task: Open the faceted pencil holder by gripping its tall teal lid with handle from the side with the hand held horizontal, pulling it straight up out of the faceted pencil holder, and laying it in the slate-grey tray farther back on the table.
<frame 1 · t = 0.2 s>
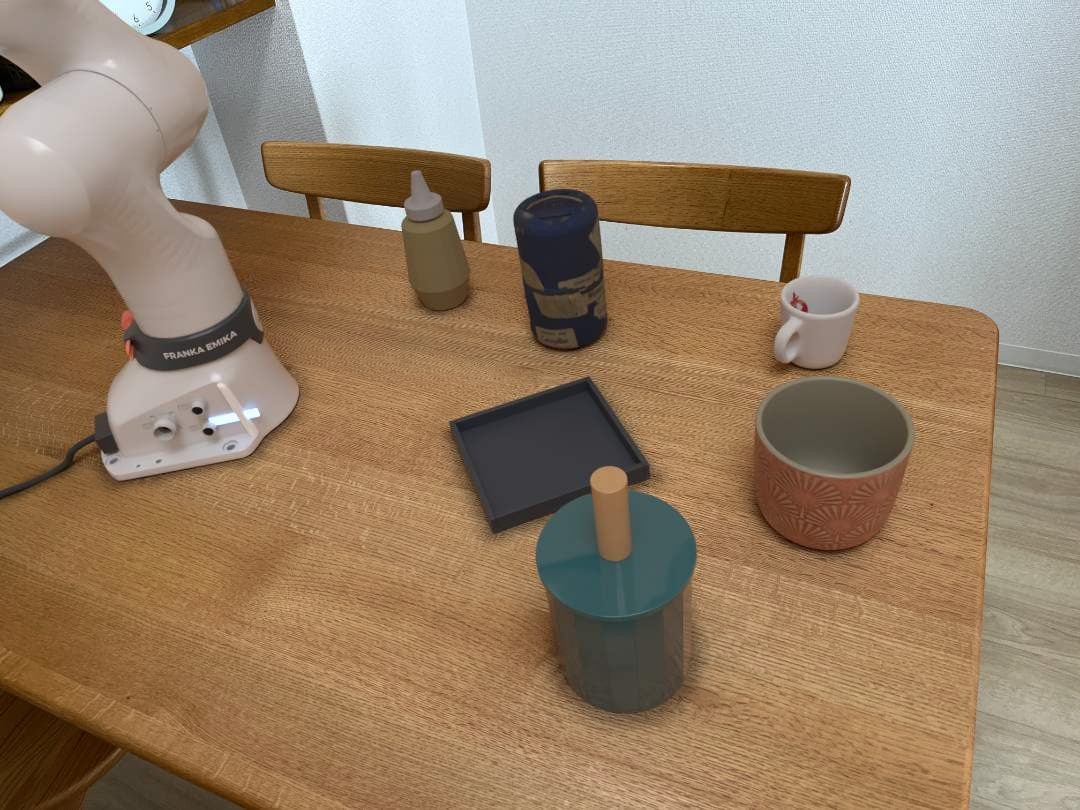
teal lid with handle: (615, 553, 57), point 13 cm above the table, touching faceted pencil holder
tray: (546, 455, 83), on the table
canister: (569, 332, 99), on the table
faceted pencil holder: (624, 652, 65), on the table
planter: (819, 512, 73), on the table
squeeze bottle: (445, 300, 108), on the table
cup: (804, 362, 89), on the table
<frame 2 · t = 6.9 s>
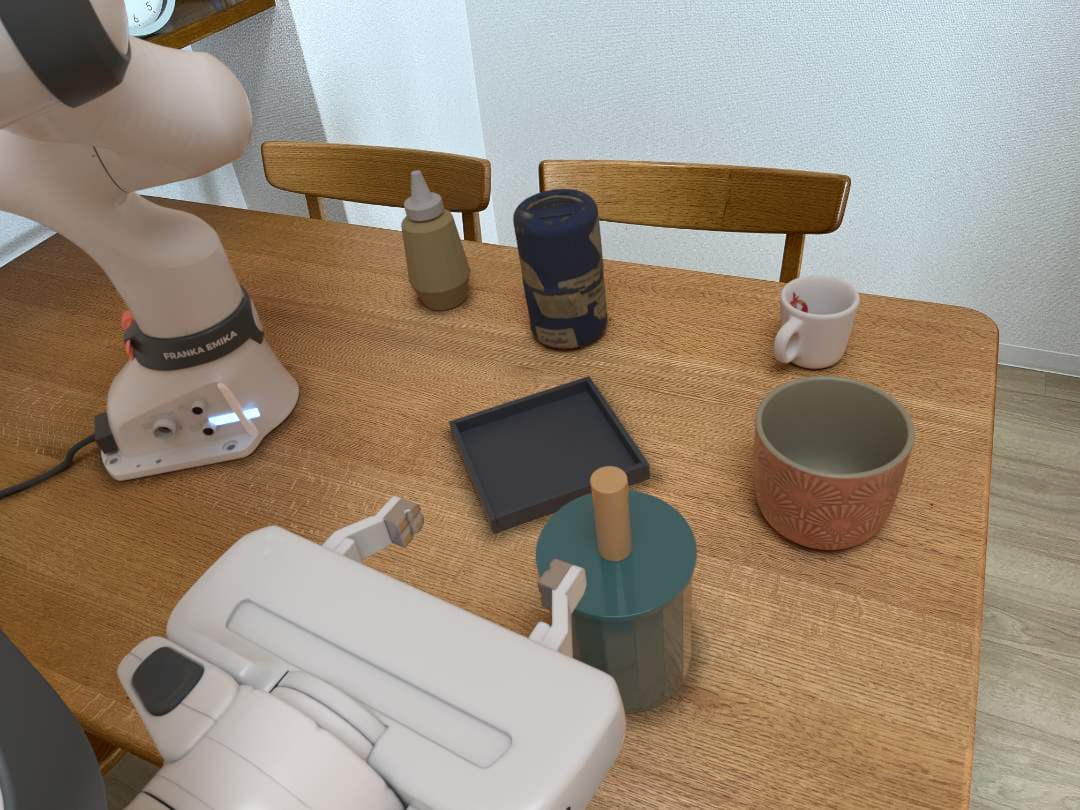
hand: (487, 537, 39), 28 cm above the table, tool horizontal, fingers open, 8 cm apart
nothing on the table moved.
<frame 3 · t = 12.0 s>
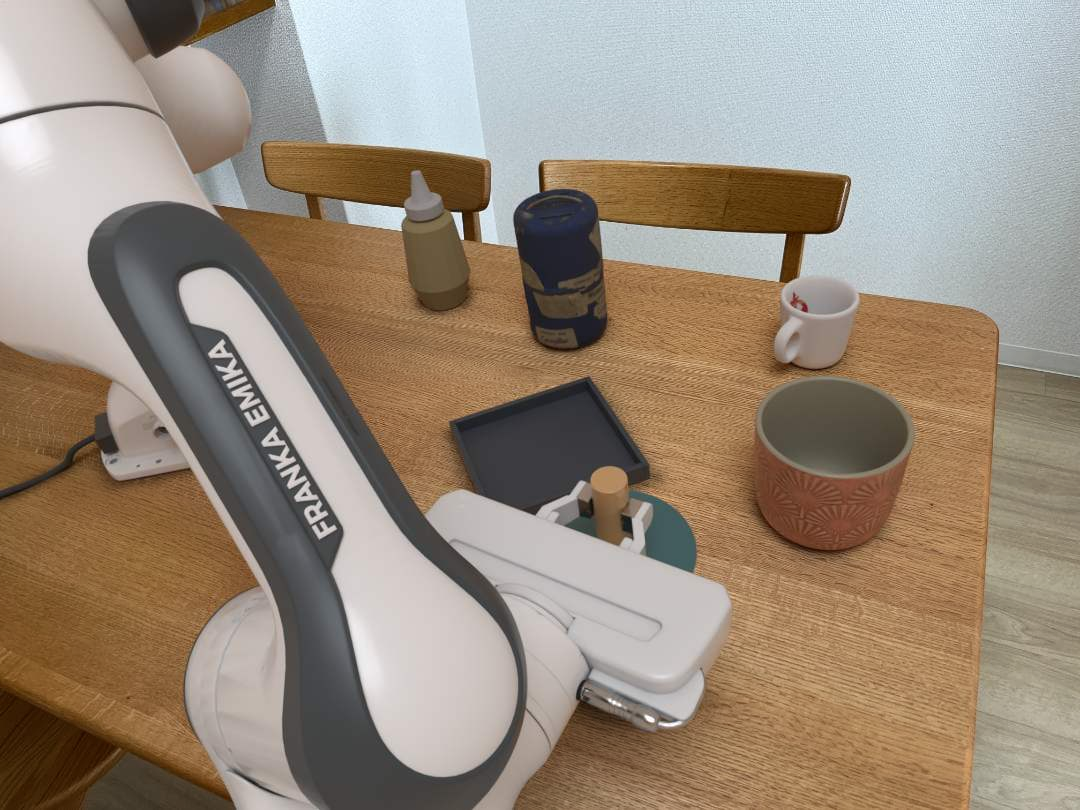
hand: (616, 497, 54), 18 cm above the table, tool horizontal, fingers closed on teal lid with handle, 2 cm apart
teal lid with handle: (615, 553, 57), point 13 cm above the table, touching faceted pencil holder, gripper
everything else where it was.
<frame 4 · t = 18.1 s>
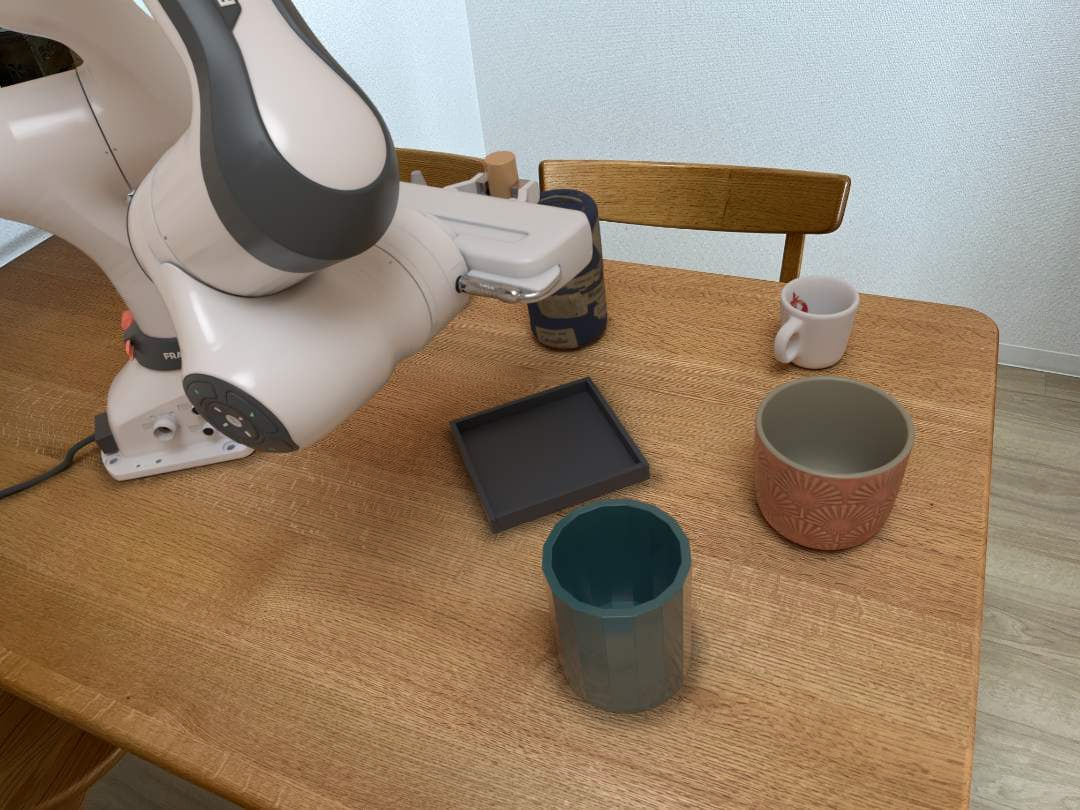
hand: (510, 185, 63), 30 cm above the table, tool horizontal, fingers closed on teal lid with handle, 2 cm apart
teal lid with handle: (513, 245, 66), point 25 cm above the table, touching gripper
everything else where it was.
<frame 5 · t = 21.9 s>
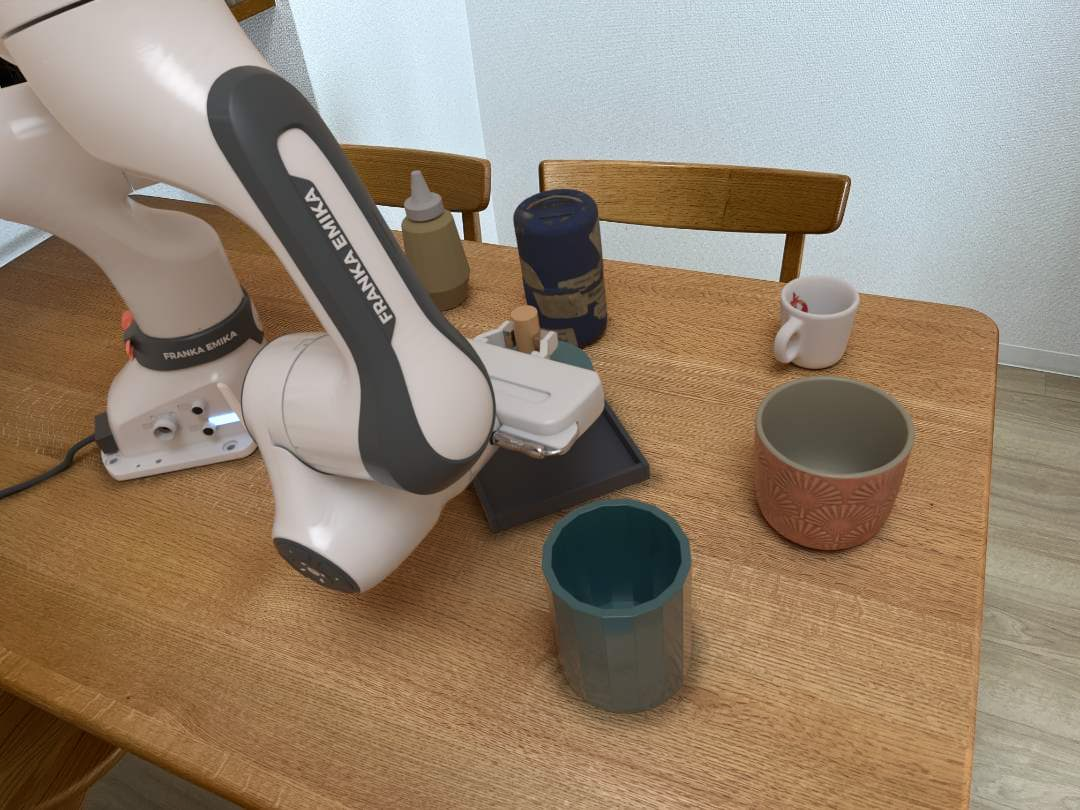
hand: (532, 331, 73), 15 cm above the table, tool horizontal, fingers closed on teal lid with handle, 2 cm apart
teal lid with handle: (534, 379, 76), point 10 cm above the table, touching gripper
everything else where it was.
when the fingers open (6 cm above the table, at t = 24.6 s): teal lid with handle stays where it is, resting on tray.
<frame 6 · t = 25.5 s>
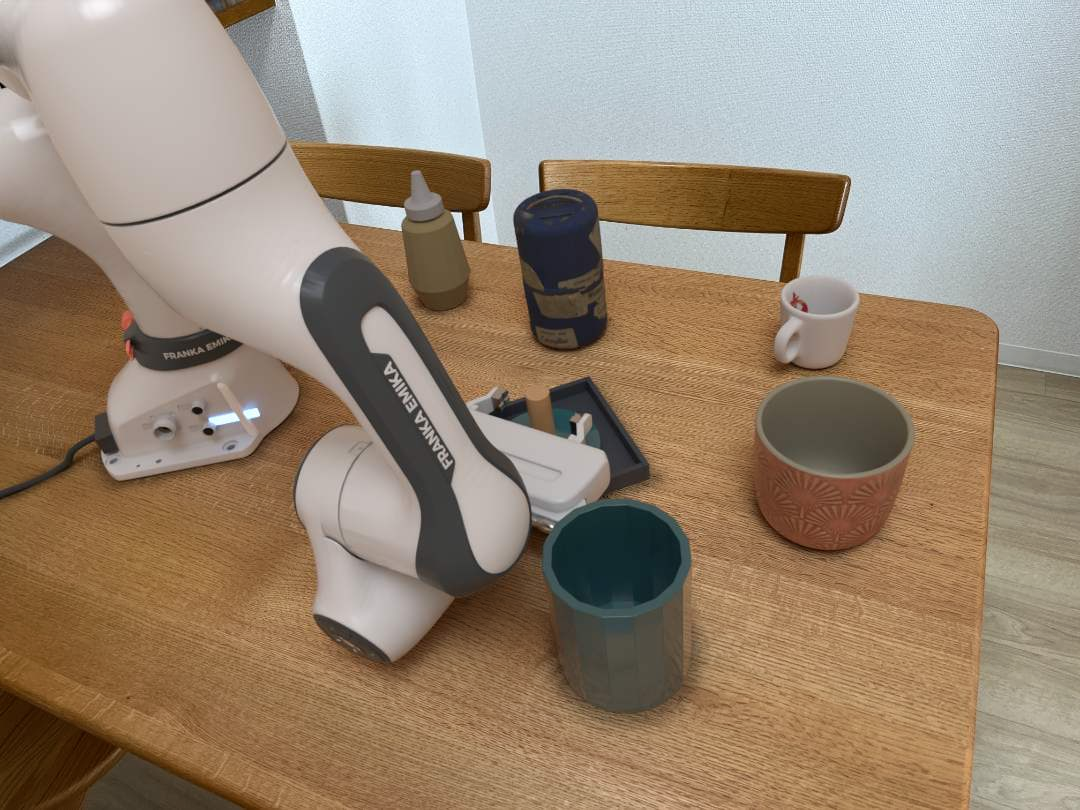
hand: (543, 404, 79), 6 cm above the table, tool horizontal, fingers open, 8 cm apart
teal lid with handle: (546, 448, 82), point 1 cm above the table, touching tray
everything else where it was.
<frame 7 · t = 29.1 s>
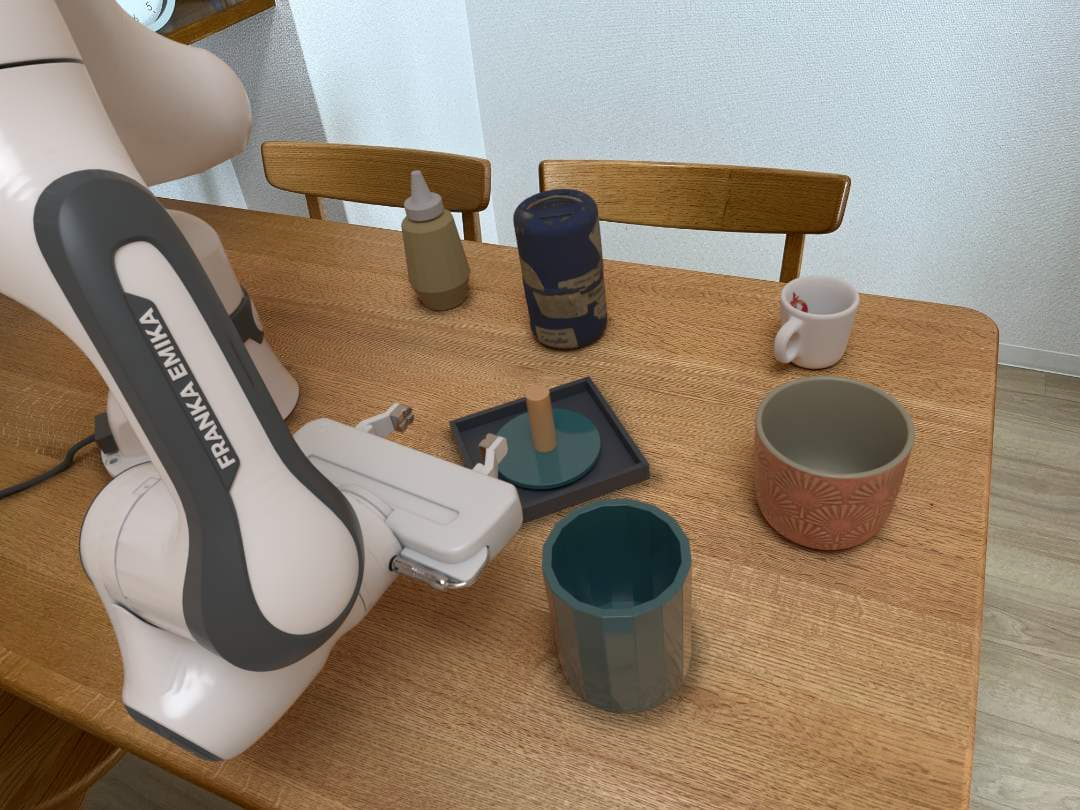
hand: (451, 425, 66), 15 cm above the table, tool horizontal, fingers open, 8 cm apart
nothing on the table moved.
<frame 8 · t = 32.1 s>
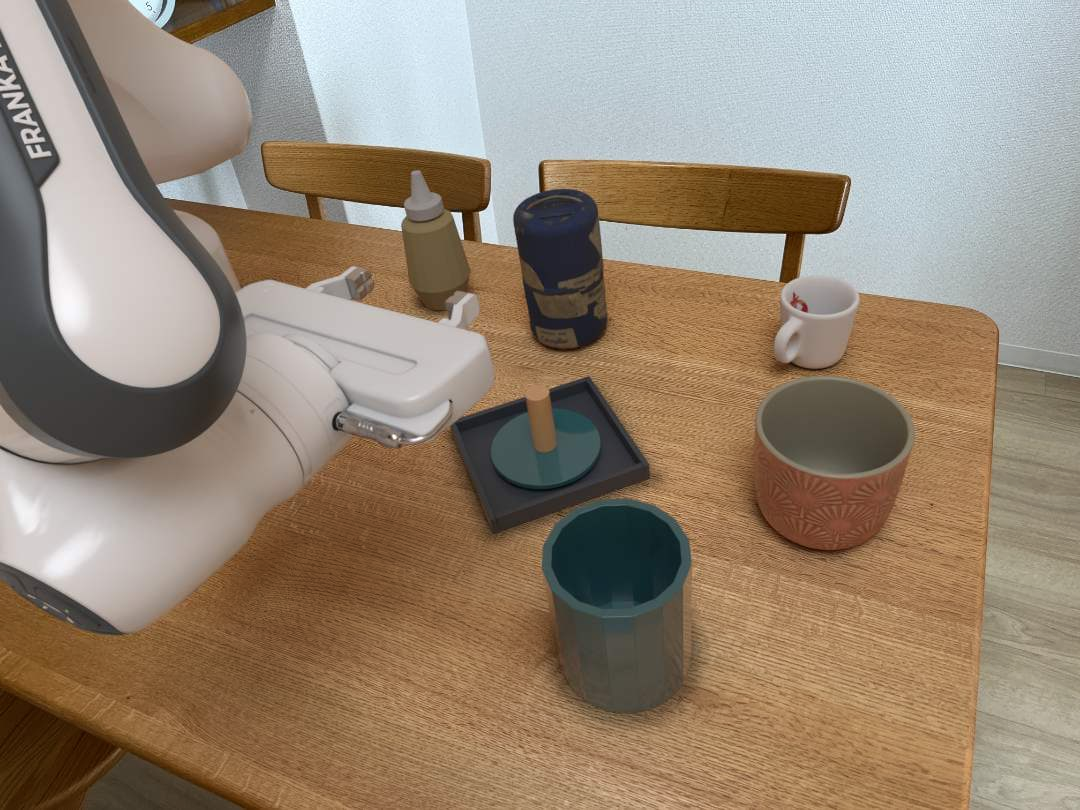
hand: (416, 287, 57), 28 cm above the table, tool horizontal, fingers open, 8 cm apart
nothing on the table moved.
at the end: teal lid with handle inside the target area in the tray (0.2 cm from its centre), point 1.1 cm above the tray's base; teal lid with handle tilted 0°; the gripper is holding nothing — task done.
